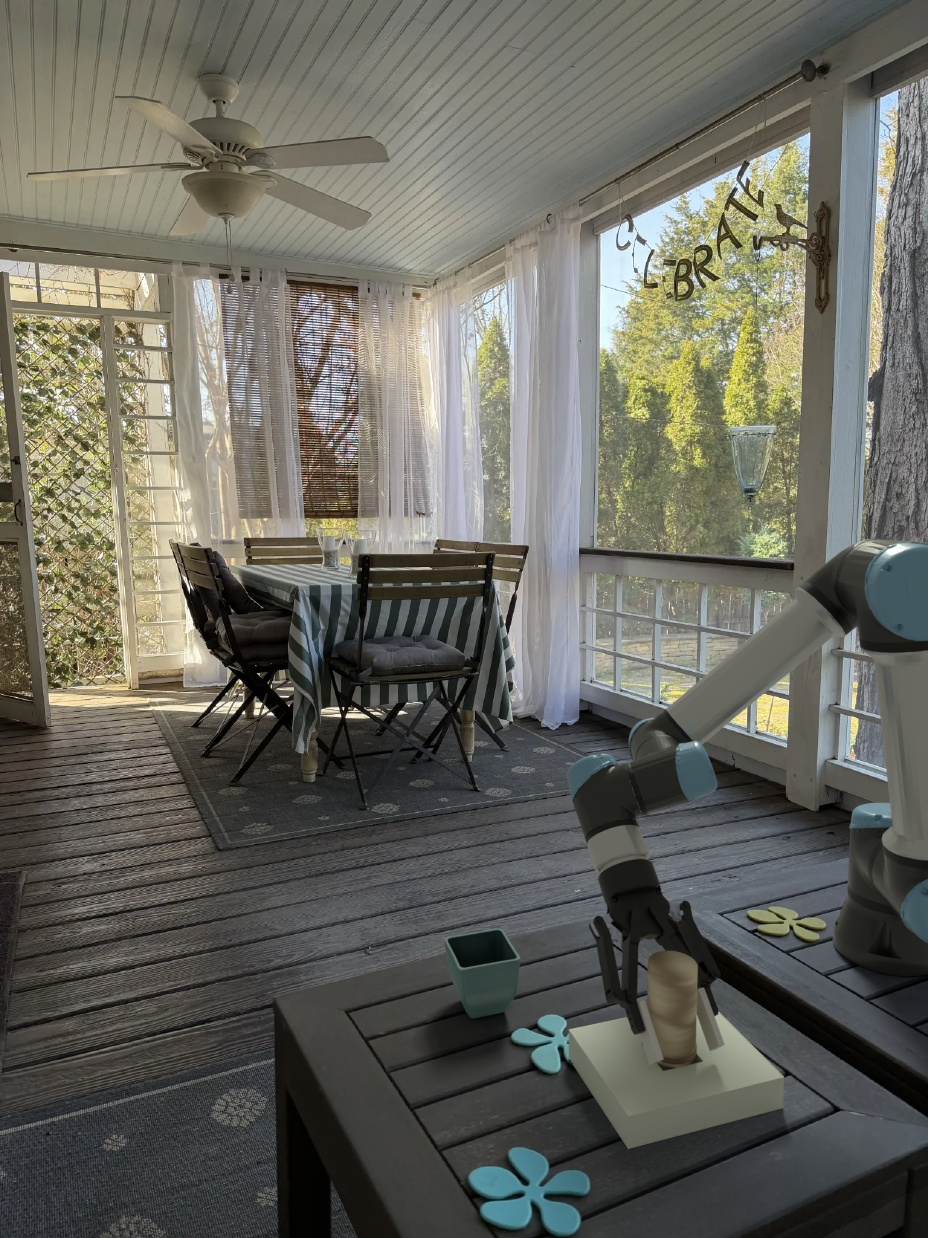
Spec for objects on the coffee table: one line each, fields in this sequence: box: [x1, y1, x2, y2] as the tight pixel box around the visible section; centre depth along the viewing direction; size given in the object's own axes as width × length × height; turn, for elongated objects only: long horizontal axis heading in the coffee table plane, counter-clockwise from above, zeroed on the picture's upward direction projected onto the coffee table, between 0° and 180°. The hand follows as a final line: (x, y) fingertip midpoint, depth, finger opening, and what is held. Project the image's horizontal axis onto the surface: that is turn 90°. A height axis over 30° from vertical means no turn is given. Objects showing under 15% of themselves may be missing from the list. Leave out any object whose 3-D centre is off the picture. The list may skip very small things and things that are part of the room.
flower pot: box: [443, 928, 521, 1019], centre depth 120 cm, size 9×9×9 cm
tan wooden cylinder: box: [646, 950, 698, 1071], centre depth 103 cm, size 6×6×15 cm
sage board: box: [568, 1011, 785, 1150], centre depth 104 cm, size 20×16×4 cm
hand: (687, 1055), depth 100 cm, fingers open, 7 cm apart
